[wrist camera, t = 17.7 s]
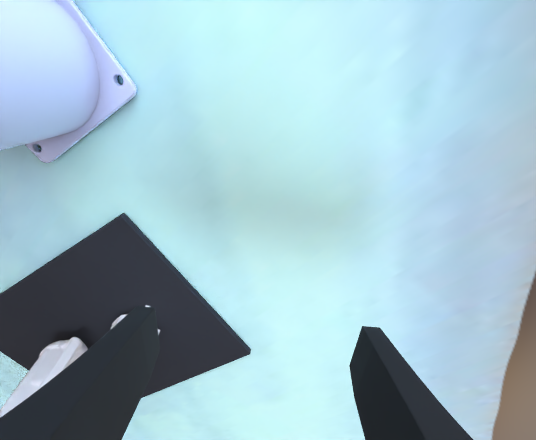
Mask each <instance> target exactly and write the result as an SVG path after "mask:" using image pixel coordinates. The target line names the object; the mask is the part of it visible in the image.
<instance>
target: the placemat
mask: <svg viewBox="0 0 536 440" xmlns="http://www.w3.org/2000/svg"><path fill="white" fill-rule="evenodd" d="M146 305H147V306H150V307H155V311H156V320H157V327H158V330H160V332H159V343H160V350H159V353H158V356H157V359H156V362H155V365H154V368H153V371H152V374H151V377H150V379H149V382H148V384H147V386H146V388H145V390H144V393H143V395H142V397H145V396H147V395H150V394H152V393H155V392H157V391H160V390H162V389H165V388H167V387H170V386H172V385H175V384H177V383H180V382H182V381H185V380H187V379H189V378H192V377H194V376H197V375H199V374H202V373H204V372H207V371H209V370H212V369H214V368H217V367H219V366H222V365H224V364H227V363H229V362H232V361H234V360H237V359H239V358H241V357H244V356H246V355H249V354H250V352H251V349H250V348H249V347H248V346H247V345H246V344H245V343H244V342H243V341H242V340H241V338H240V337H239V336H238V335H237V334H236V333H235V332H234V331H233V330H232V329H231V328H230V327H229V325H228V324H227V323H226V322H225V321H224V320H223V319H222V318H221V317H220V316H219V315H218V314H217V313H216V311H215V310H214V309H213V308H212V307H211V306H210V305H209V304H208V303H207V302H206V301H205V300H204V299H203V297H202V296H201V295H200V294H199V293H198V292H197V291H196V290H195V289H194V288H193V287H192V286H191V285H190V283H189V282H188V281H187V280H186V279H185V278H184V277H183V276H182V275H181V274H180V273H179V272H178V271H177V269H176V268H175V267H174V266H173V265H172V264H171V263H170V262H169V261H168V260H167V259H166V258H165V256H164V255H163V254H162V253H161V252H160V251H159V250H158V249H157V248H156V247H155V246H154V245H153V244H152V242H151V241H150V240H149V239H148V238H147V237H146V236H145V235H144V234H143V233H142V232H141V231H140V230H139V228H138V227H137V226H136V225H135V224H134V223H133V222H132V221H131V220H130V219H129V218H128V217H127V216H126V214H125V213H123V214H122V215H120V216H119V217H117V218H115V219H114V220H112V221H111V222H109V223H108V224H106V225H105V226H103V227H102V228H100V229H99V230H97V231H96V232H94V233H93V234H91V235H90V236H88V237H87V238H85V239H83V240H82V241H80V242H79V243H77V244H76V245H74V246H73V247H71V248H70V249H68V250H67V251H65V252H64V253H62V254H61V255H59V256H58V257H56V258H55V259H53V260H52V261H50V262H48V263H47V264H45V265H44V266H42V267H41V268H39V269H38V270H36V271H35V272H33V273H32V274H30V275H29V276H27V277H26V278H24V279H23V280H21V281H20V282H18V283H16V284H15V285H13V286H12V287H10V288H9V289H7V290H6V291H4V292H3V293H1V294H0V351H1V352H2V353H4V354H5V355H7V356H8V357H10V358H11V359H13V360H14V361H16V362H17V363H18V364H20V365H21V366H23V367H24V368H26V369H27V370H30V369H31V368H32V366H33V365H34V364H35V362H36V361H37V360H38V358H39V355H40V353H41V351H42V350H43V349H44V348H45V347H47V346H48V345H49V344H51V343H54V342H56V341H60V340H70V339H71V338H72V337H77V338H79V339H81V341H82V342H83V343H84V344H85V345H86V347H87V349H89V348H90V347H91V346H92V345H94V344H95V343H96V342H97V341H98V340H99V339H101V338H102V337H103V336H104V335H105V334H106V333H107V332H108V331H110V330H111V327H112V323H113V322H114V321H115V320H116V319H117V318H118V317H120V316H121V315H124V314H128V313H130V312H131V311H132V310H133V309H134V308H135V307H137V306H144V307H145V306H146ZM142 397H141V398H142Z"/></svg>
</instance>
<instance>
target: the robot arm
mask: <svg viewBox="0 0 536 440" xmlns="http://www.w3.org/2000/svg"><path fill="white" fill-rule="evenodd" d="M118 75H120V76H121V77H122V78H123V84H122V85H120V84H119V83H118V81H117V77H118ZM136 93H137V88H136V85H135V83H134V82H133V81H132V79H131V78H130V77H129V75H128V74H127V73H126V71H125V70H124V69H123V67H122V66H121V65H120V63H119V62H118V61H117V59H116V58H115V57H114V55H113V54H112V53H111V51H110V50H109V49H108V47H107V46H106V45H105V43H104V42H103V40H102V39H101V38H100V36H99V35H98V34H97V32H96V31H95V30H94V28H93V27H92V26H91V24H90V23H89V22H88V20H87V19H86V18H85V16H84V15H83V14H82V12H81V11H80V10H79V8H78V7H77V6H76V4H75V3H74V2H73V0H0V150H4V149H8V148H12V147H16V146H20V145H24V144H25V145H26V146H27V147H28V148H29V149H30V150H31V151H32V152H33V153H34V154H35V155H36V156H37V157H38V158H39V159H40V160H41V161H42V162H45V163H49V162H52V161H54V160H56V159H57V158H58V157H59V156H61V155H62V154H63V153H65V152H66V151H67V150H68V149H70V148H71V147H72V146H73V145H75V144H76V143H77V142H78V141H80V140H81V139H82V138H83V137H85V136H86V135H87V134H88V133H90V132H91V131H92V130H93V129H95V128H96V127H97V126H98V125H100V124H101V123H102V122H103V121H105V120H106V119H107V118H108V117H110V116H111V115H112V114H113V113H115V112H116V111H117V110H118V109H120V108H121V107H122V106H123V105H125V104H126V103H127V102H128V101H130V100H131V99H132V98H133V97H134V96H135V95H136ZM38 145H39V146H40V147H41V149H42V151H41V150H40V149H39V148H38ZM159 350H160V343H159V335H158V327H157V320H156V312H155V307H144V306H137V307H135V308H134V309H133V310H132V311H131V312H130V313H128V314H127V315H126V316H125V317H124V318H123V319H122V320H121V321H120V322H118V323H117V324H116V325H115V326H114V327H113V328H112V329H111V330H110V331H108V332H107V333H106V334H105V335H104V336H103V337H102V338H101V339H99V340H98V341H97V342H96V343H95V344H94V345H92V346H91V347H90V348H89V349H88V350H87V351H85V352H84V353H83V354H82V355H81V356H80V357H78V358H77V359H76V360H75V361H74V362H72V363H71V364H70V365H69V366H68V367H66V368H65V369H64V370H63V371H61V372H60V373H59V374H58V375H56V376H55V377H54V378H53V379H51V380H50V381H49V382H48V383H46V384H45V385H44V386H43V387H41V388H40V389H39V390H37V391H36V392H35V393H33V394H32V395H31V396H29V397H28V398H27V399H25V400H24V401H23V402H21V403H20V404H19V405H17V406H16V407H14V408H13V409H12V410H10V411H9V412H7V413H6V414H5V415H3V416H2V417H0V440H121V439H122V437H123V435H124V433H125V431H126V429H127V427H128V425H129V422H130V420H131V418H132V416H133V414H134V412H135V410H136V408H137V405H138V403H139V401H140V399H141V397H142V395H143V393H144V390H145V388H146V386H147V384H148V382H149V379H150V377H151V374H152V371H153V368H154V365H155V362H156V359H157V356H158V353H159ZM350 372H351V379H352V386H353V392H354V398H355V402H356V406H357V409H358V413H359V417H360V421H361V425H362V429H363V432H364V436H365V440H473V439H472V438H471V437H470V436H469V435H468V434H467V433H466V431H465V430H464V429H463V428H462V427H461V426H460V425H459V424H458V423H457V421H456V420H455V419H454V418H453V417H452V416H451V415H450V414H449V413H448V411H447V410H446V409H445V408H444V407H443V406H442V405H441V403H440V402H439V401H438V400H437V399H436V398H435V396H434V395H433V394H432V393H431V392H430V390H429V389H428V388H427V387H426V385H425V384H424V383H423V382H422V381H421V379H420V378H419V377H418V376H417V375H416V373H415V372H414V371H413V370H412V368H411V367H410V366H409V364H408V363H407V362H406V361H405V359H404V358H403V357H402V356H401V354H400V353H399V352H398V350H397V349H396V348H395V347H394V345H393V344H392V343H391V341H390V340H389V339H388V338H387V336H386V335H385V334H384V332H383V331H382V330H381V329H380V328H377V327H366V326H362V329H361V332H360V335H359V338H358V341H357V344H356V347H355V350H354V353H353V356H352V359H351V362H350Z"/></svg>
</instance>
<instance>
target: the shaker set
mask: <svg viewBox="0 0 536 440" xmlns="http://www.w3.org/2000/svg"><path fill="white" fill-rule="evenodd" d="M145 307H150V306H147V305H146V306H145ZM155 312H156V311H155ZM126 315H127V314H124V315H121V316H120V317H118V318H117V319H116V320H115V321H114V322H113V323H112V327H111V329H112V328H113V327H114V326H115V325H116V324H117V323H118V322H120V321H121V320H122V319H123V318H124V317H125V316H126ZM159 332H160V330H158V335H159ZM87 350H88V349H87V347H86V345H85V344H84V343H83V342H82V341H81V339H79V338H77V337H72V338H71V339H70V340H60V341H56V342H54V343H51V344H49V345H48V346H47V347H45V348H44V349H43V350H42V351H41V353H40V355H39V358H38V360H37V361H36V362H35V364H34V365H33V366H32V368H31V369H30V370H29V372H28V373H27V374H26V375H25V377H24V378H23V380H22V381H21V382H20V383H19V385H18V386H17V388H16V389H15V390H14V392H13V393H12V394H11V396H10V397H9V398H8V400H7V401H6V402H5V404H4V405H3V407H2V408H1V409H0V417H2V416H3V415H5V414H6V413H7V412H9V411H10V410H12V409H13V408H14V407H16V406H17V405H19V404H20V403H21V402H23V401H24V400H25V399H27V398H28V397H29V396H31V395H32V394H33V393H35V392H36V391H37V390H39V389H40V388H41V387H43V386H44V385H45V384H46V383H48V382H49V381H50V380H51V379H53V378H54V377H55V376H56V375H58V374H59V373H60V372H61V371H63V370H64V369H65V368H66V367H68V366H69V365H70V364H71V363H72V362H74V361H75V360H76V359H77V358H78V357H80V356H81V355H82V354H83V353H84V352H85V351H87Z"/></svg>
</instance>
